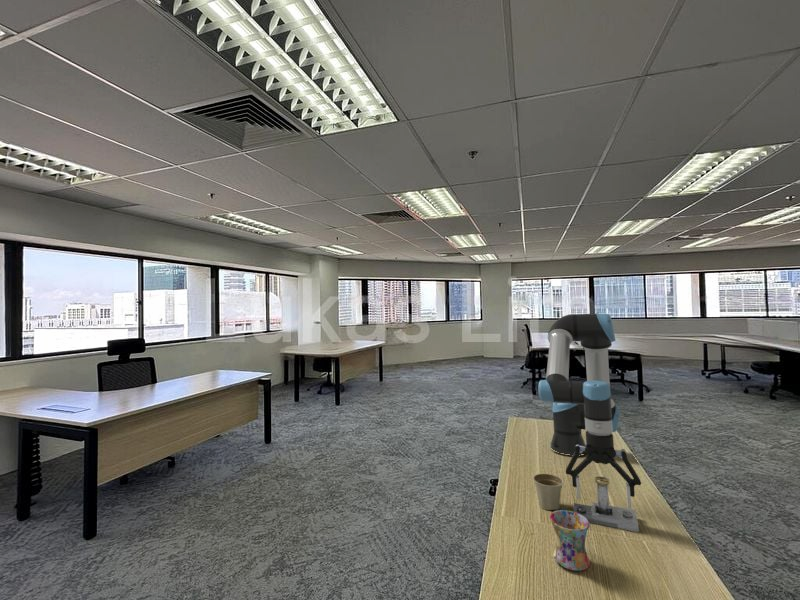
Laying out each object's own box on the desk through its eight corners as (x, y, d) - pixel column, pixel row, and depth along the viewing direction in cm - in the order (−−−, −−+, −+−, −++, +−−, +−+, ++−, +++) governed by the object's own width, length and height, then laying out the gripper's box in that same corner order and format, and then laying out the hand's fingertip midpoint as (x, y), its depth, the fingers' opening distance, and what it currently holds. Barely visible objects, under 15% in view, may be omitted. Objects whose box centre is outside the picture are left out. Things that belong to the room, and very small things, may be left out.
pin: (597, 514, 114) (594, 475, 114) (611, 517, 112) (608, 477, 113) (597, 520, 110) (595, 480, 111) (611, 523, 109) (609, 482, 109)
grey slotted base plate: (574, 506, 119) (573, 497, 119) (635, 518, 111) (634, 508, 111) (573, 519, 112) (572, 509, 112) (638, 532, 104) (638, 521, 104)
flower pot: (563, 500, 123) (562, 474, 123) (566, 515, 114) (564, 487, 114) (533, 497, 126) (532, 472, 126) (534, 511, 117) (533, 484, 117)
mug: (596, 577, 87) (593, 532, 88) (555, 572, 89) (552, 527, 90) (584, 546, 99) (581, 506, 99) (547, 542, 101) (545, 503, 101)
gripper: (554, 431, 115) (558, 499, 114) (649, 440, 104) (654, 517, 103) (556, 424, 122) (560, 489, 121) (645, 433, 110) (650, 504, 109)
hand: (603, 502), depth 112 cm, fingers open, 13 cm apart
